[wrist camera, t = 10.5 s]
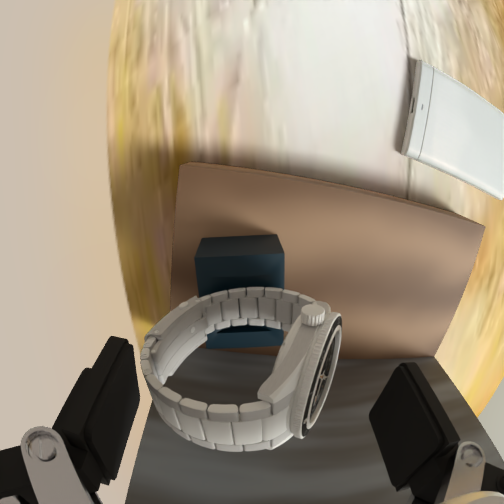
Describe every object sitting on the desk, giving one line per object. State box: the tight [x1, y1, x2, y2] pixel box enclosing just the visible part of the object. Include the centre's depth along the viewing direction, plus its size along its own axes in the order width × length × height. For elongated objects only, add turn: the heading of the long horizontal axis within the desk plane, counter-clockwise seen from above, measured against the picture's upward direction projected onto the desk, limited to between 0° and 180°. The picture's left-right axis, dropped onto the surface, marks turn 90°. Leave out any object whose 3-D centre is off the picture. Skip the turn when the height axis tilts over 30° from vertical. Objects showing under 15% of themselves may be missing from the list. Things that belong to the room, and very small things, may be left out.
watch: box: [140, 234, 342, 452], centre depth 13 cm, size 6×8×11 cm
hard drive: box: [401, 60, 504, 200], centre depth 18 cm, size 2×8×12 cm
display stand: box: [125, 161, 504, 504], centre depth 14 cm, size 14×22×18 cm, turn 82°
